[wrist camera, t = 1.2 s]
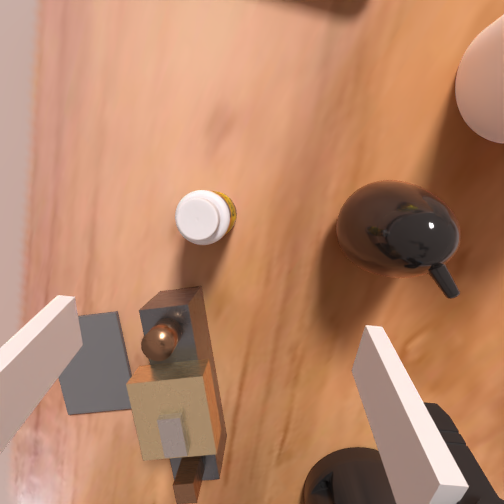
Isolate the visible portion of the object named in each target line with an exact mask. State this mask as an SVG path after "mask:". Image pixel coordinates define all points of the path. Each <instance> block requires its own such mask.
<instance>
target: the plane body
mask: <svg viewBox="0 0 504 504" xmlns="http://www.w3.org/2000/svg"><path fill="white" fill-rule="evenodd" d="M139 313H140V318H141V323H142V327H143V332H144V338H143V340H142V343H141V347H142V351H143V353H144V354H145V355H146V357H148V358H149V361H150V365H154V364H163V363H173V362H182V361H192V360H201V359H209V362H210V367H211V373H212V379H213V385H214V390H215V396H216V402H217V408H218V413H219V419H220V425H221V435H220V440H219V445H218V450H217V454H215V455H203V456H191V457H180V458H170V462H171V467H172V472H173V476H174V483H173V488H174V493H175V498H176V502H177V504H187V503H197V500H198V496H199V491H200V487H201V483H202V480H214V479H220V473H221V467H222V461H223V455H224V449H225V443H226V437H227V434H226V428H225V422H224V416H223V410H222V404H221V399H220V393H219V387H218V381H217V375H216V369H215V364H214V358H213V352H212V346H211V340H210V334H209V329H208V323H207V317H206V311H205V305H204V299H203V294H202V288H201V286H200V287H192V288H184V289H176V290H168V291H160V292H159V293H158V294H157V295H156V296H155V297H153V298H152V299H151V300H150V301H149V302H148V303H147V304H146V305H144V306H143V307H142V308H141V309H140V310H139Z"/></svg>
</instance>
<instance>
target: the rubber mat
mask: <svg viewBox="0 0 504 504" xmlns="http://www.w3.org/2000/svg"><path fill="white" fill-rule="evenodd" d="M78 319H79V325H80V331H81V337H82V343H83V345H82V347H81V348H80V349H79V351H78V352H77V353H76V355H75V356H74V357H73V359H72V360H71V361H70V363H69V364H68V365H67V366H66V368H65V369H64V370H63V372H62V373H61V374H60V376H59V381H60V385H61V389H62V393H63V396H64V400H65V404H66V408H67V412H68V415H71V414H81V413H91V412H102V411H112V410H122V409H131V404H130V400H129V395H128V391H127V386H126V383H127V382H128V381H129V379H130V378H131V377H132V374H131V370H130V365H129V361H128V356H127V352H126V347H125V342H124V338H123V333H122V329H121V324H120V320H119V315H118V311H116V312H108V313H99V314H91V315H83V316H78Z"/></svg>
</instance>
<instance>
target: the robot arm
mask: <svg viewBox="0 0 504 504" xmlns="http://www.w3.org/2000/svg"><path fill="white" fill-rule="evenodd" d="M82 345H83V343H82V337H81V331H80V325H79V319H78V313H77V307H76V301H75V297H72V296H61V295H57V296H56V297H55V298H54V299H53V300H52V301H51V302H50V303H49V304H48V305H46V306H45V307H44V308H43V309H42V310H41V311H40V312H39V313H38V314H37V315H36V316H35V317H33V318H32V319H31V320H30V321H29V322H28V323H27V324H26V325H25V326H24V327H23V328H21V329H20V330H19V331H18V332H17V333H16V334H15V335H14V336H13V337H12V338H11V339H10V340H8V341H7V343H5V344H4V345H3V346H2V347H1V348H0V454H1V452H2V451H3V450H4V449H5V447H6V446H7V445H8V443H9V442H10V441H11V439H12V438H13V437H14V435H15V434H16V433H17V431H18V430H19V429H20V427H21V426H22V425H23V423H24V422H25V421H26V420H27V418H28V417H29V416H30V414H31V413H32V412H33V410H34V409H35V408H36V406H37V405H38V404H39V402H40V401H41V400H42V398H43V397H44V396H45V394H46V393H47V392H48V390H49V389H50V388H51V386H52V385H53V384H54V382H55V381H56V380H57V378H58V377H59V376H60V374H61V373H62V372H63V370H64V369H65V368H66V366H67V365H68V364H69V363H70V361H71V360H72V359H73V357H74V356H75V355H76V353H77V352H78V351H79V349H80V348H81V347H82ZM352 373H353V376H354V379H355V382H356V385H357V388H358V391H359V394H360V397H361V400H362V403H363V406H364V409H365V412H366V415H367V418H368V421H369V424H370V427H371V430H372V433H373V436H374V439H375V441H376V444H377V447H378V450H379V451H377V450H374V449H370V448H360V447H356V448H347V449H342V450H339V451H336V452H333V453H331V454H329V455H327V456H326V457H324V458H323V459H321V460H320V461H319V462H318V463H317V464H316V465H315V466H314V467H313V468H312V470H311V471H310V473H309V475H308V477H307V479H306V482H305V487H304V500H305V504H504V500H502V499H500V498H499V497H498V495H497V494H496V492H495V491H494V489H493V488H492V486H491V484H490V483H489V481H488V479H487V478H486V476H485V474H484V473H483V471H482V469H481V468H480V466H479V464H478V463H477V461H476V459H475V458H474V456H473V454H472V453H471V451H470V449H469V448H468V446H466V443H465V441H464V439H463V438H462V436H461V434H459V431H458V429H457V428H456V426H455V424H454V423H453V421H452V419H451V418H450V416H449V415H448V414H447V413H446V412H445V411H444V410H443V409H442V408H441V407H440V406H439V405H438V404H435V403H424V402H423V401H422V399H421V397H420V395H419V394H418V392H417V390H416V388H415V386H414V384H413V383H412V381H411V379H410V377H409V375H408V373H407V371H406V370H405V368H404V366H403V364H402V362H401V360H400V359H399V357H398V355H397V353H396V351H395V349H394V347H393V346H392V344H391V342H390V340H389V338H388V336H387V335H386V333H385V331H384V329H383V327H380V326H370V325H365V328H364V332H363V335H362V338H361V341H360V345H359V348H358V351H357V355H356V358H355V361H354V364H353V368H352Z"/></svg>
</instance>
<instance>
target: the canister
mask: <svg viewBox="0 0 504 504" xmlns="http://www.w3.org/2000/svg"><path fill="white" fill-rule="evenodd" d="M455 95H456V102H457V106H458V109H459V111H460V114H461V116H462V118H463V119H464V121H465V122H466V124H467V125H468V126H469V127H470V128H471V129H472V130H473V131H474V132H475V133H477V134H478V135H479V136H481V137H483V138H485V139H487V140H490V141H493V142H497V143H503V144H504V15H502V16H501V17H500V18H498V19H497V20H496V21H494V22H493V23H492V24H491V25H489V26H488V27H487V28H485V29H484V30H483V31H482V32H481V33H480V34H479V35H478V36H477V37H476V38H475V39H474V40H473V41H472V43H471V44H470V45H469V47H468V48H467V50H466V51H465V53H464V55H463V57H462V59H461V62H460V64H459V67H458V71H457V75H456V82H455Z"/></svg>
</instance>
